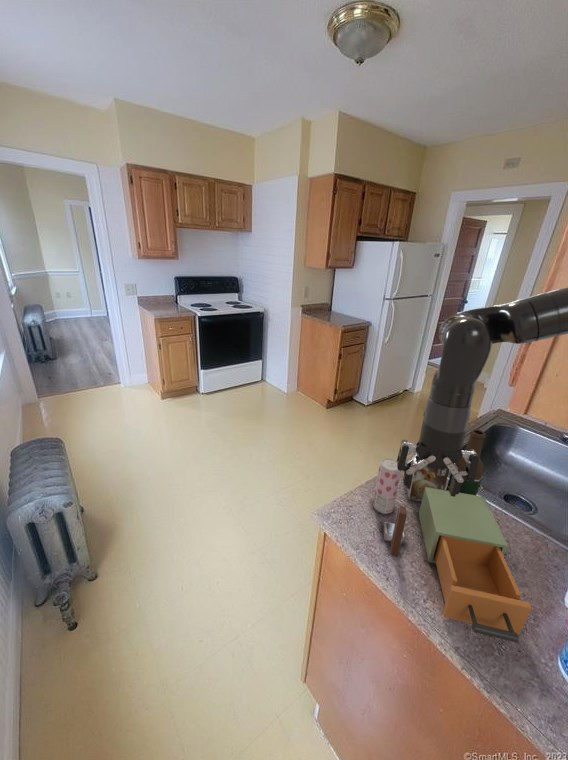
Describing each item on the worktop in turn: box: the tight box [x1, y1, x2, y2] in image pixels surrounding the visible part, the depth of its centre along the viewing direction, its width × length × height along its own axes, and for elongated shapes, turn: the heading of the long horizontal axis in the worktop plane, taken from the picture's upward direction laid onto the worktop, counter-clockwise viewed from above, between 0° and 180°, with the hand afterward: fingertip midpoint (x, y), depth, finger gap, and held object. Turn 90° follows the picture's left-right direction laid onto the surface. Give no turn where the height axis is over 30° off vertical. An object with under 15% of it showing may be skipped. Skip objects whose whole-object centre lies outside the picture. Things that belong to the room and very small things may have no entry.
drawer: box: [434, 535, 533, 643], centre depth 66 cm, size 19×13×8 cm
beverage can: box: [372, 457, 402, 515], centre depth 90 cm, size 6×6×15 cm
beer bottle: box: [445, 429, 487, 496], centre depth 91 cm, size 8×8×24 cm
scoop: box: [382, 505, 408, 556], centre depth 79 cm, size 5×8×13 cm, turn 167°
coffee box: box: [406, 450, 450, 503], centre depth 94 cm, size 9×6×16 cm
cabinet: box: [418, 487, 509, 565], centre depth 80 cm, size 16×15×10 cm
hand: (429, 490), depth 67 cm, fingers open, 8 cm apart
